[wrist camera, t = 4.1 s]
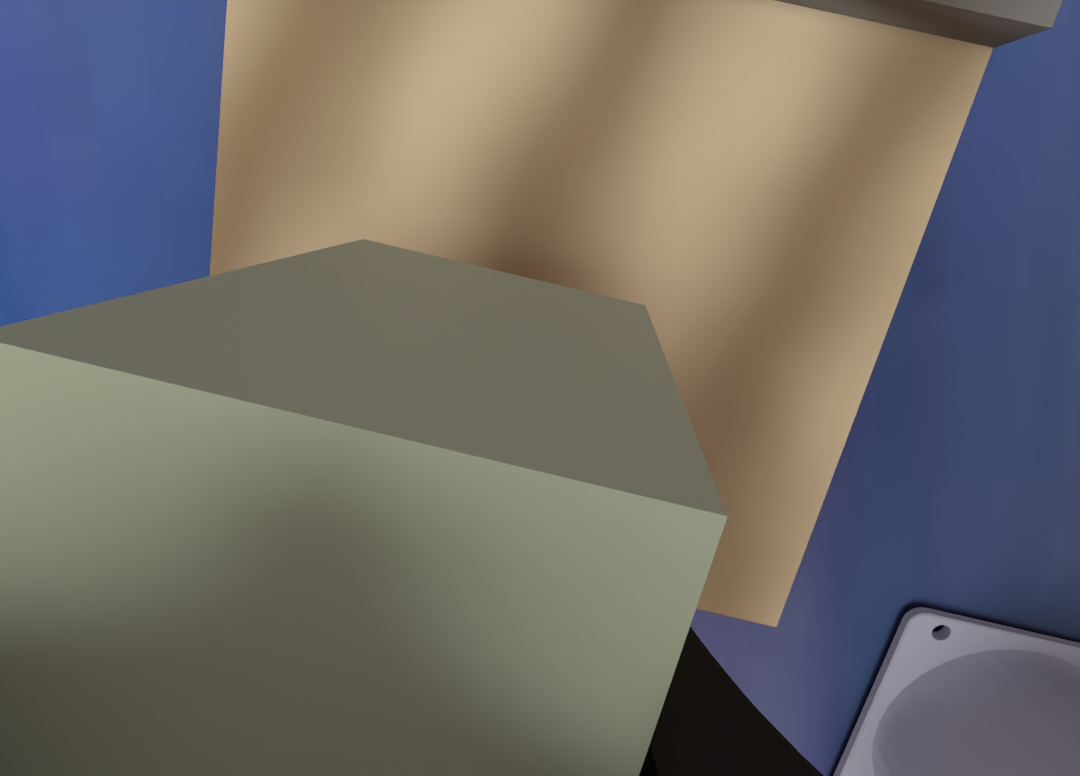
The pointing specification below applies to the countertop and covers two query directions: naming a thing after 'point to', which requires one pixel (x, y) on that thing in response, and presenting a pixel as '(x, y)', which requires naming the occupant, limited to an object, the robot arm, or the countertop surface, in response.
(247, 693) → the carton
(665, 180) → the wooden serving tray
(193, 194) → the countertop surface
